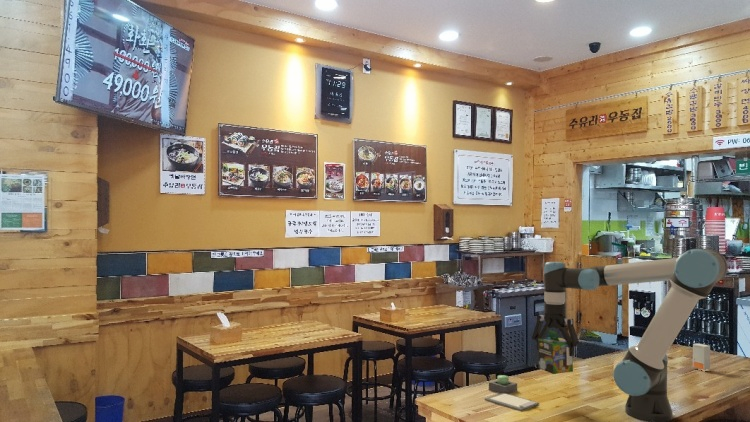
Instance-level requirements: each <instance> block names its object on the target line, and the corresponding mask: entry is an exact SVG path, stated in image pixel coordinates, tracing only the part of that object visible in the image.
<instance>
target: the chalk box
mask: <svg viewBox="0 0 750 422" xmlns="http://www.w3.org/2000/svg"><path fill="white" fill-rule="evenodd" d="M548 334H549V337H544V338H541V339H538V350H537V353H538V355H537V356H538V358H537V359H538V364H537V365H538V367H537V368H538V369H540V370H542V371H545V372H547V373H550V374H552V375H556V374H565V373H573V372H574V365H573V364H574V363H573V361H574V360H573V357H574V356H572V365H567V347H568V344H567V342H566V341H565V339H564V338H563V337H559V335H558V332H557V331H554V330H550V329H549V330H548ZM554 335H555V336H554Z"/></svg>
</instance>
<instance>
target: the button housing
mask: <svg viewBox="0 0 750 422" xmlns="http://www.w3.org/2000/svg"><path fill="white" fill-rule="evenodd" d="M488 390H489V391H491V392H495V393H497V394H500V393H507V394H512V393H515V392H518V382H514V381H513V382H512V381H510V380H509V384H508V385H505V386H504V385H501V384H497V379H496V380H493V381H492V380H491V381H490V382H488Z"/></svg>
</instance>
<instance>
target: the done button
mask: <svg viewBox="0 0 750 422" xmlns="http://www.w3.org/2000/svg"><path fill="white" fill-rule="evenodd" d="M509 378H510V377H509V376H508V375H505V374H503V375H502V374H499V375H497V379H496V380H497V384H501V385H504V386H505V385H508V384H509V381H510V379H509Z"/></svg>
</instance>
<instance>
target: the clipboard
mask: <svg viewBox="0 0 750 422" xmlns="http://www.w3.org/2000/svg"><path fill="white" fill-rule="evenodd" d="M484 401H487V402H490V403H493V404H497V405H499V406H503V407H506V408H509V409H513V410H516V411H519V412H523V411H525V410H529V409H530V408H534V407H536V406H539V405H540V402H537V401H534V400H530V399H527V398H524V397H520V396H517V395H513V394H511V393H509V394H507V393H497V394H494V395H492V396H487V397H485V398H484Z"/></svg>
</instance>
